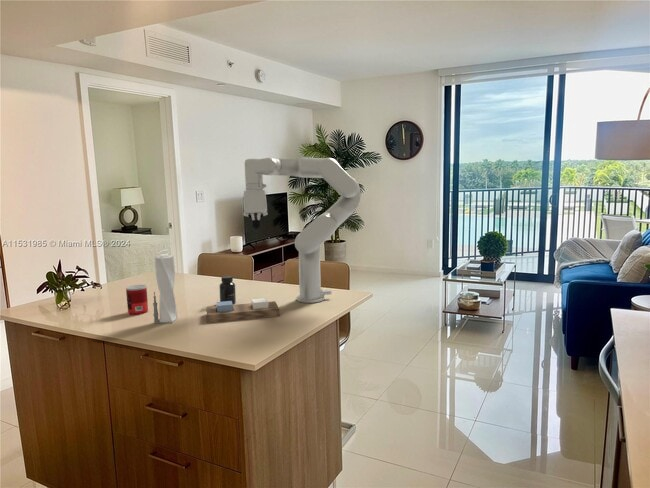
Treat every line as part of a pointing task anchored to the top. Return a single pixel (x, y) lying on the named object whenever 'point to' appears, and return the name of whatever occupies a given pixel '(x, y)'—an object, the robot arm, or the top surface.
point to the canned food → (137, 299)
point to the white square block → (259, 303)
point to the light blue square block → (224, 306)
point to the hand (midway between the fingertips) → (256, 228)
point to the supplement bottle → (227, 290)
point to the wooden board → (242, 312)
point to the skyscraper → (165, 289)
